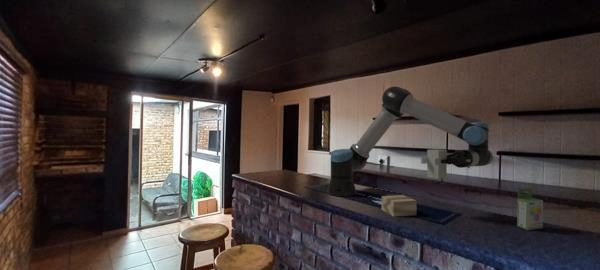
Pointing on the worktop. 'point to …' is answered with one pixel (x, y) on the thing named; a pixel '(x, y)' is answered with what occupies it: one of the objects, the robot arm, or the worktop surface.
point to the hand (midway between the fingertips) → (427, 160)
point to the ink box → (529, 211)
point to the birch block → (399, 205)
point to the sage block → (436, 170)
